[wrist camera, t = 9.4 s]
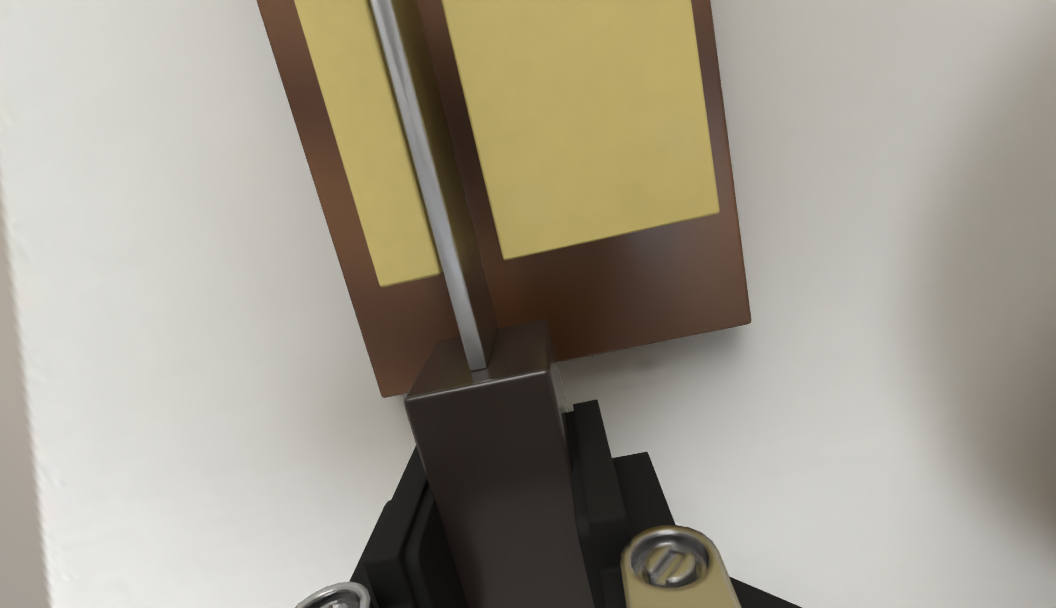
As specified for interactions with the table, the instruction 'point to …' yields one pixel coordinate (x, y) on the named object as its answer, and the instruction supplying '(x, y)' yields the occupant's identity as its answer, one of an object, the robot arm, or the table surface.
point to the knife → (484, 384)
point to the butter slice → (370, 137)
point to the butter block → (584, 116)
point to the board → (536, 280)
